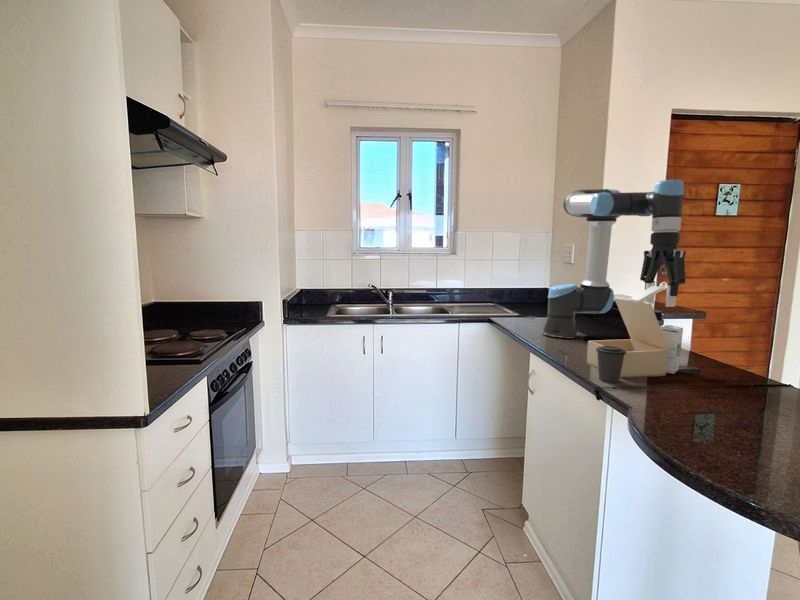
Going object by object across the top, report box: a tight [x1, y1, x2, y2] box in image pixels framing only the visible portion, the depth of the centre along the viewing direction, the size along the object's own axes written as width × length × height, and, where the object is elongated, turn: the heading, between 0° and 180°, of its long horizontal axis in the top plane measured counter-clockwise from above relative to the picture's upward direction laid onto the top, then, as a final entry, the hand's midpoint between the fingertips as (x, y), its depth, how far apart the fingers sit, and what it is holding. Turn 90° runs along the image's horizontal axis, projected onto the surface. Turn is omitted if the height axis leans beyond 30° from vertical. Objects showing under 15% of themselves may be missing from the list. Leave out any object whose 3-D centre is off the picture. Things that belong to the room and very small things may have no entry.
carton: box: [586, 338, 668, 379], centre depth 129 cm, size 16×16×8 cm
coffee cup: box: [596, 346, 626, 384], centre depth 118 cm, size 8×8×10 cm
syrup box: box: [660, 324, 684, 375], centre depth 127 cm, size 6×6×14 cm
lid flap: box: [614, 285, 669, 350], centre depth 128 cm, size 15×17×9 cm
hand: (659, 304), depth 126 cm, fingers open, 8 cm apart
